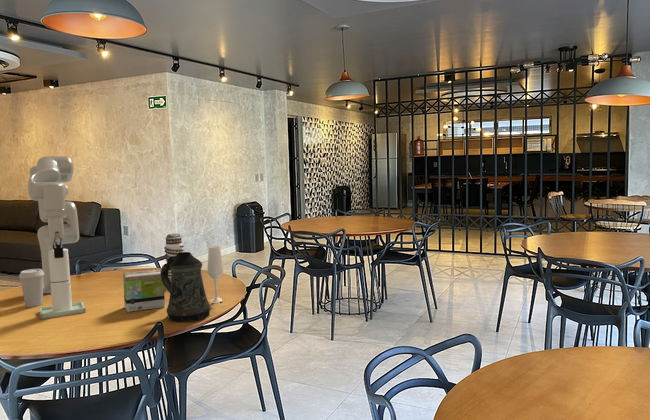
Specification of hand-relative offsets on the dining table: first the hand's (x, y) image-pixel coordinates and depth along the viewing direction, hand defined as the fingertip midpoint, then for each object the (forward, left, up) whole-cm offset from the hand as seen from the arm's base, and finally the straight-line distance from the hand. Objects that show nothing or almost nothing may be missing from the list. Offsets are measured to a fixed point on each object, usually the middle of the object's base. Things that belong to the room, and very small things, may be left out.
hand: (58, 255), depth 202 cm
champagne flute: (+21, +58, -24) cm, 66 cm away
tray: (0, 0, -23) cm, 23 cm away
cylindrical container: (0, 0, -23) cm, 23 cm away
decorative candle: (-21, +51, -24) cm, 60 cm away
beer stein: (+34, +41, -24) cm, 58 cm away
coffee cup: (-19, -10, -24) cm, 32 cm away
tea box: (+12, +30, -24) cm, 40 cm away
